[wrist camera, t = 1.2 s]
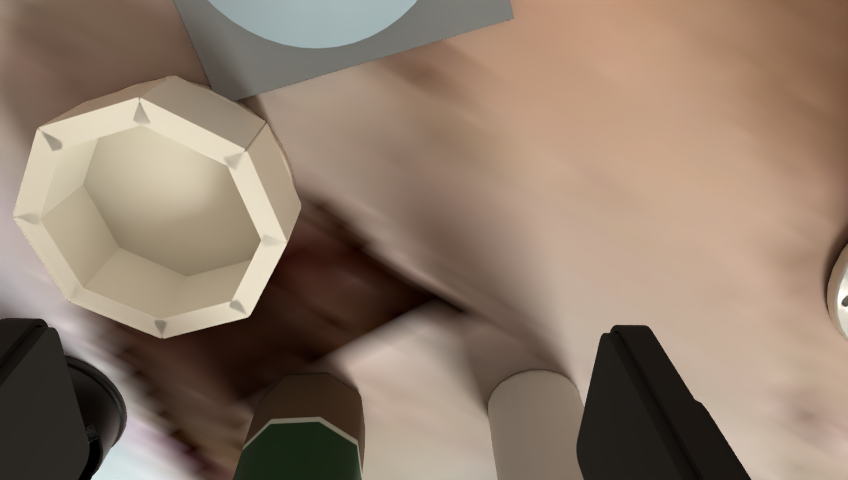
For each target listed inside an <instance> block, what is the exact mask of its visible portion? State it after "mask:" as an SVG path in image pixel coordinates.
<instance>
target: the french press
mask: <svg viewBox="0 0 848 480" xmlns="http://www.w3.org/2000/svg"><path fill="white" fill-rule="evenodd" d="M65 359H66V363H67V366H68V370H69V373H70V377H71V380H72V384H73V388H74V391H75V395H76V398H77V402H78V405H79V409H80V413H81V416H82V420H83V423H84V427H85V431H86V429H87V428H88V426H89V425H90V426H91V427H92V429H93V430H94V432H95V433H96V436H97V437H96V438H95V439H93V440H91V441H89V456H88V460H87V463H86V465H85V468H84V469H83V471H82V473H81V475H80V477H79V479H78V480H91V478H92V476H93V475H94V474H95V473H96V472H97V471H98V469H99V468H100V466H101V464H102V462H103V461H104V459H105V457H106V455H107V454H108V452H109V450H110V448H111V447H113V446H114V445H115V444H116V443H117V441H118V440H119V439H120V438H121V436H122V434H123V432H124V429H125V427H126V421H127V412H126V406H125V403H124V401H123V398H122V396H121V394H120V393H119V391H118V390H117V388H116V387H115V386H114V385H113V384H112V383H111V381H110V380H109V379H108V378H107V377H105V376H104V375H103V374H102V373H100V372H99V371H98V370H96V369H95V368H93V367H91V366H89V365H88V364H86V363H84V362H82V361H79V360H77V359H74V358H71V357H68V356H65Z"/></svg>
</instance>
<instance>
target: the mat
mask: <svg viewBox="0 0 848 480" xmlns="http://www.w3.org/2000/svg"><path fill="white" fill-rule="evenodd" d="M173 1H174V3H175V6H176V8H177V10H178V13H179V15H180V17H181V19H182V22H183V24H184V26H185V28H186V31H187V33H188V35H189V37H190V40H191V42H192V44H193V46H194V49H195V51H196V53H197V55H198V58H199V60H200V62H201V64H202V67H203V69H204V71H205V73H206V76H207V78H208V80H209V82H210V85H211V87H212V89H213V92H214V93H216V94H218V95H221V96H223V97H225V98H227V99H228V100H230V101H232V102H233V101H237V100H240V99H243V98H247V97H250V96H254V95H257V94H260V93H264V92H267V91H271V90H274V89H277V88H281V87H284V86H287V85H291V84H294V83H298V82H301V81H304V80H308V79H311V78H314V77H318V76H321V75H325V74H328V73H331V72H335V71H338V70H341V69H345V68H348V67H352V66H355V65H358V64H362V63H365V62H369V61H372V60H375V59H379V58H382V57H385V56H389V55H392V54H396V53H399V52H402V51H406V50H409V49H412V48H416V47H419V46H423V45H426V44H429V43H433V42H436V41H439V40H443V39H446V38H450V37H453V36H456V35H460V34H463V33H467V32H470V31H473V30H477V29H480V28H483V27H487V26H490V25H494V24H497V23H500V22H504V21H507V20H510V19H514V17H513V13H512V8H511V3H510V0H417V1H416V3H415V4H414V5H413V6H412V7H411V8H410V9H409V10H408V11H407V12H406V13H405V14H404V15H403V16H401V17H400V18H399V19H398V20H396V21H395V22H394V23H392V24H391V25H390V26H388V27H387V28H385V29H383V30H382V31H380V32H378V33H376V34H374V35H372V36H371V37H368V38H365V39H363V40H360V41H358V42H355V43H351V44H347V45H343V46H338V47H330V48H300V47H295V46H289V45H284V44H280V43H277V42H274V41H271V40H268V39H265V38H263V37H260V36H258V35H256V34H254V33H252V32H250V31H248V30H246V29H244V28H243V27H241V26H239V25H238V24H236V23H235V22H233V21H231V20H230V19H229V18H228V17H226V16H225V15H224V14H223V13H221V12H220V11H219V10H217V9H216V8H215V7H214V6H213V5H212V4H211V3H210V2H209V1H208V0H173Z"/></svg>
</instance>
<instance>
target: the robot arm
mask: <svg viewBox="0 0 848 480" xmlns="http://www.w3.org/2000/svg"><path fill="white" fill-rule="evenodd" d="M827 304H828V309H829V315H830V317H831V319H832V321H833V323H834V325H835V327H836V328H837V329H838V330H839V332H840V333H841V334H842V335H843V336H844V337H845V338H846V339H847V340H848V244H847V245H846V246H845V248H844V249H843V250H842V252H841V254H840V256H839V258H838V260H837V262H836V264H835V265H834V267H833V270H832V273H831V277H830V280H829V283H828V292H827ZM576 454H577V460H578V464H579V467H580V470H581V473H582V476H583V479H584V480H751V478H750V477H749V475H748V474H747V472H746V471H745V469H744V467H743V466H742V464H741V463H740V461H739V459H738V458H737V456H736V455H735V453H734V452H733V450H732V448H731V447H730V445H729V444H728V442H727V441H726V439H725V437H724V436H723V434H722V433H721V431H720V430H719V428H718V426H717V425H716V423H715V422H714V420H713V419H712V417H711V415H710V414H709V412H708V411H707V409H706V408H705V407H704V406H703V405H702V403H700V402H698V401H696V400H695V399H694V398H693V396H692V394H691V393H690V391H689V390H688V388H687V386H686V385H685V383H684V382H683V380H682V378H681V377H680V375H679V374H678V372H677V370H676V369H675V367H674V366H673V364H672V362H671V361H670V359H669V358H668V356H667V354H666V353H665V351H664V350H663V348H662V346H661V345H660V343H659V342H658V340H657V338H656V337H655V335H654V334H653V332H652V330H651V329H650V328H649V327H648V326H646V325H615V326H613V327H612V329H611V331H610V333H604V334H602V336H601V338H600V342H599V346H598V351H597V355H596V359H595V364H594V368H593V373H592V377H591V381H590V386H589V390H588V394H587V399H586V403H585V408H584V412H583V416H582V421H581V425H580V430H579V434H578V438H577V444H576ZM88 456H89V441H88V438H87V434H86V431H85V427H84V423H83V420H82V416H81V413H80V409H79V405H78V402H77V398H76V395H75V391H74V388H73V384H72V380H71V377H70V373H69V370H68V366H67V363H66V359H65V355H64V352H63V348H62V345H61V341H60V338H59V334H58V332H57V330H56V329H55V328H52V327H48V325H47V323H46V322H45V321H44V320H42V319H28V318H5V319H1V320H0V480H78V479H79V477H80V475H81V473H82V471H83V469H84V468H85V465H86V463H87V460H88Z"/></svg>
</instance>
